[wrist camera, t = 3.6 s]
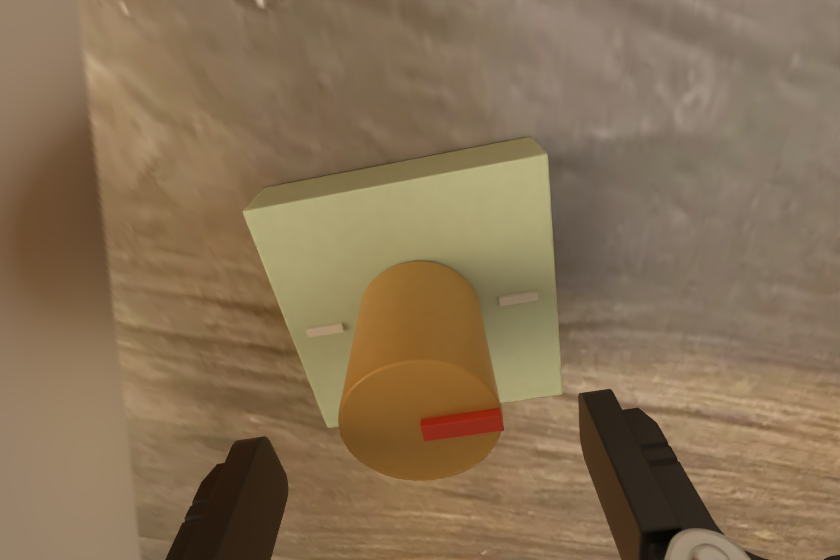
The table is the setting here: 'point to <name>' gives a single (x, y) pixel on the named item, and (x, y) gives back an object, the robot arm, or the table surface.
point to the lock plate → (418, 256)
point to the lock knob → (420, 376)
